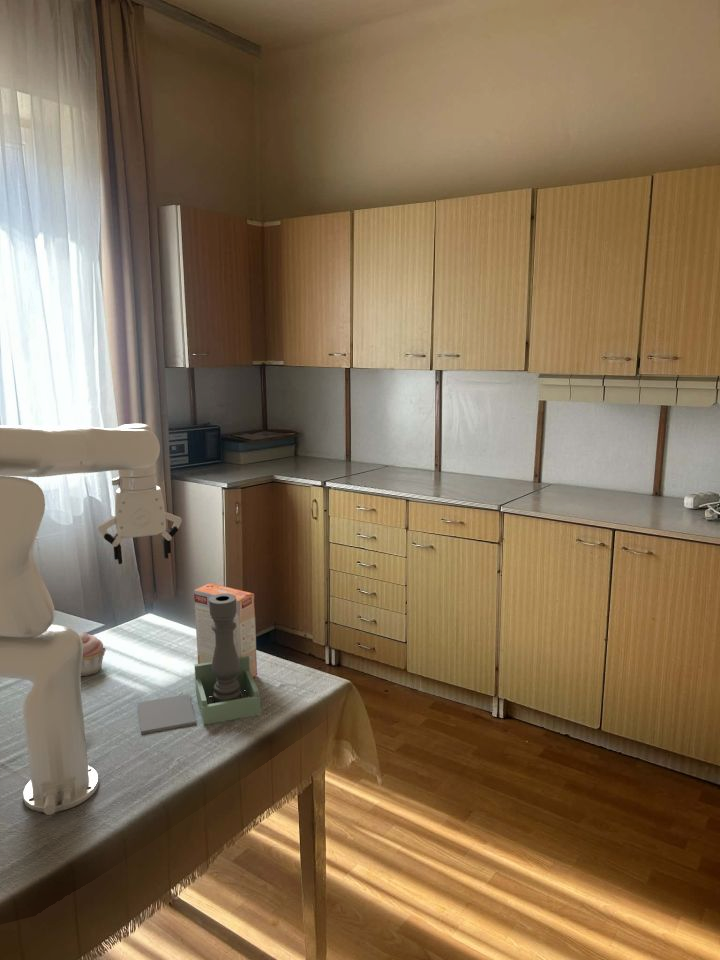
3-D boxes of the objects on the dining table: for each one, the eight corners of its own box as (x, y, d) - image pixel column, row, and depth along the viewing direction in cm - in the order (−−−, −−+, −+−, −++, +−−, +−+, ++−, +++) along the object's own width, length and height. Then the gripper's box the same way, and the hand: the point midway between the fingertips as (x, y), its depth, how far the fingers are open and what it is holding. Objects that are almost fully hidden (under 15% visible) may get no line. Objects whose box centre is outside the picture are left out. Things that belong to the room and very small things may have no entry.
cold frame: (260, 714, 156) (259, 680, 154) (203, 725, 152) (201, 690, 150) (249, 688, 167) (248, 656, 165) (196, 697, 163) (194, 664, 162)
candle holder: (247, 705, 160) (243, 598, 154) (224, 716, 155) (219, 606, 150) (230, 695, 164) (225, 590, 158) (207, 706, 160) (201, 598, 154)
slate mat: (195, 724, 153) (195, 721, 153) (141, 734, 149) (140, 731, 149) (189, 696, 164) (188, 694, 164) (137, 705, 160) (137, 702, 160)
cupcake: (116, 668, 177) (113, 629, 175) (82, 683, 170) (78, 643, 167) (92, 657, 182) (89, 620, 180) (58, 672, 175) (54, 633, 173)
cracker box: (258, 675, 173) (255, 592, 168) (241, 686, 168) (237, 601, 163) (214, 661, 180) (210, 581, 176) (197, 670, 175) (192, 588, 171)
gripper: (95, 489, 148) (102, 570, 152) (182, 482, 155) (186, 559, 159) (93, 482, 155) (100, 559, 159) (176, 475, 162) (180, 549, 165)
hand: (143, 559), depth 159 cm, fingers open, 9 cm apart
